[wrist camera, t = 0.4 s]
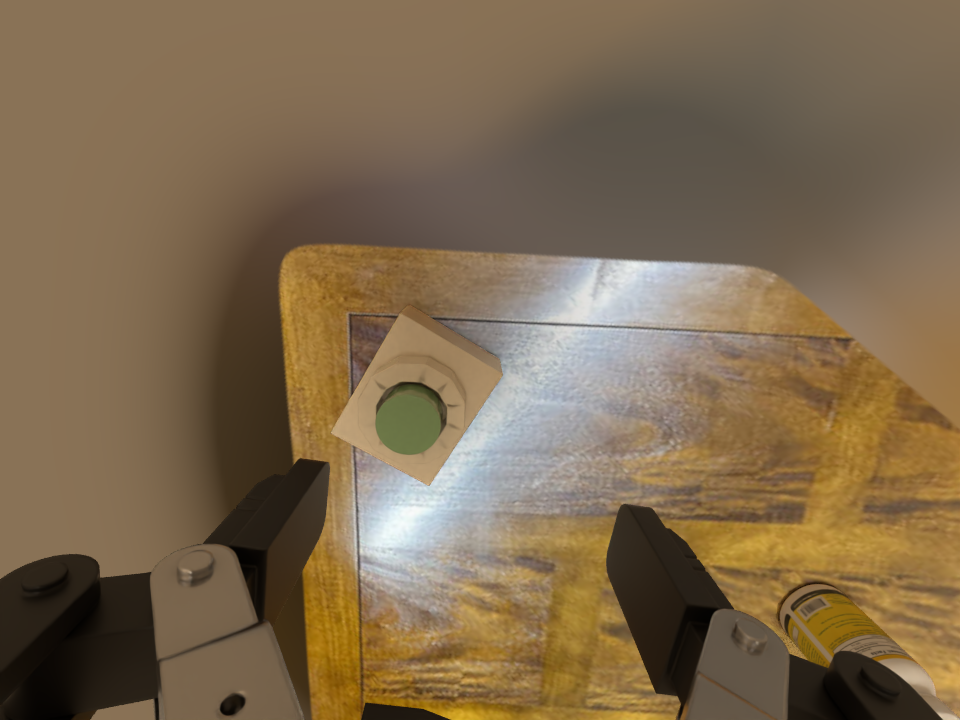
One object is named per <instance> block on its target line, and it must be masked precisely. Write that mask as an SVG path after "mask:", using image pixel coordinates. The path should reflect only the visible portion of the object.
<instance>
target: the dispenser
mask: <svg viewBox="0 0 960 720" xmlns="http://www.w3.org/2000/svg"><path fill="white" fill-rule="evenodd" d="M502 376H503V372H502V367H501V363H500V359H499V358H497V357H496V356H494V355H492V354H491V353H489V352H487V351H486V350H484V349H482V348H481V347H479V346H477V345H476V344H474V343H472V342H471V341H469V340H467V339H466V338H464V337H462V336H461V335H459V334H457V333H456V332H454V331H452V330H451V329H449V328H447V327H446V326H444V325H442V324H441V323H439V322H437V321H436V320H434V319H432V318H431V317H429V316H427V315H426V314H424V313H423V312H421V311H419V310H418V309H416V308H414V307H413V306H411V305H408V306H407V307H406V308H405V309H404V310H403V311H402V312H401V313H400V314H399V316H398V317H397V319H396V321H395V322H394V324H393V326H392V328H391V329H390V331H389V333H388V335H387V336H386V338H385V340H384V341H383V343H382V345H381V347H380V348H379V350H378V352H377V353H376V355H375V357H374V359H373V360H372V362H371V364H370V366H369V367H368V369H367V371H366V372H365V374H364V376H363V378H362V379H361V381H360V383H359V384H358V386H357V388H356V390H355V391H354V393H353V395H352V397H351V398H350V400H349V402H348V403H347V405H346V407H345V409H344V410H343V412H342V414H341V415H340V417H339V419H338V421H337V422H336V424H335V426H334V428H333V429H332V431H331V434H333V435H335V436H337V437H339V438H340V439H342V440H344V441H346V442H348V443H350V444H352V445H353V446H355V447H357V448H359V449H361V450H363V451H365V452H367V453H368V454H370V455H372V456H374V457H376V458H378V459H380V460H381V461H383V462H385V463H387V464H389V465H391V466H393V467H395V468H396V469H398V470H400V471H402V472H404V473H406V474H408V475H409V476H411V477H413V478H415V479H417V480H419V481H421V482H423V483H424V484H426V485H428V486H429V485H430V484H431V482H432V481H433V479H434V478H435V476H436V475H437V473H438V472H439V470H440V469H441V467H442V466H443V464H444V463H445V461H446V460H447V458H448V457H449V455H450V454H451V452H452V451H453V449H454V448H455V446H456V445H457V443H458V442H459V440H460V439H461V437H462V436H463V434H464V433H465V431H466V430H467V428H468V427H469V425H470V424H471V422H472V421H473V419H474V418H475V416H476V415H477V413H478V412H479V410H480V409H481V407H482V406H483V404H484V403H485V401H486V400H487V398H488V397H489V395H490V394H491V392H492V391H493V389H494V388H495V386H496V385H497V383H498V382H499V380H500V379H501V377H502ZM408 384H414V385H420V386H423V387H425V388H427V389H429V390H430V391H432V392H433V393H434V394H435V395H436V396H437V398H438V399H439V401H440V403H441V406H442V410H443V418H442V424H441V430H440V434H439V437H438V439H437V440H436V442H435V443H434V444H433V445H432V446H431V447H430V448H429V449H428V450H426V451H424V452H422V453H419V454H414V455H404V454H399V453H396V452H394V451H392V450H390V449H389V448H388V447H386V446H385V445H384V444H383V443H382V441H381V440H380V438H379V437H378V434H377V432H376V427H375V420H376V415H377V413H378V411H379V409H380V407H381V405H382V403H383V401H384V400H385V398H386V396H387V395H388V394H389V393H390V392H391V391H392V390H394V389H395V388H397V387H399V386H403V385H408Z"/></svg>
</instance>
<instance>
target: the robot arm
mask: <svg viewBox="0 0 960 720" xmlns="http://www.w3.org/2000/svg"><path fill="white" fill-rule="evenodd" d="M329 473H330V465H329V463H328V462H324V461H316V460H309V459H302V458H300V459H299V460H298V461H297V462H296V463H295V464H294V465H293V467H292V468H291V469H290V470H289V472H288V473H287V474H286V475H285V476H284V475H276V474H274V475H272V476H270V477H268V478H267V479H265V480H263V481H261V482H259V483H257V484H256V485H255V486H254V488H253V489H252V490H251V491H250V492H249V493H248V494H247V495H246V498H244V499H243V500H242V501H241V502H240V503H239V504H238V505H237V507H236V509H234V510H233V511H232V512H231V513H230V514H229V515H228V516H227V517H226V518H225V520H224V521H223V522H222V523H221V524H220V525H219V526H218V527H217V528H216V530H215V531H214V532H213V533H212V534H211V535H210V536H209V537H208V538H207V539H206V541H205V542H204V543H203V544H197V545H193V546H189V547H185V548H182V549H180V550H177V551H175V552H173V553H171V554H170V555H168V556H166V557H165V558H164V559H162V560H161V561H160V562H159V563H158V564H157V565H156V566H155V567H154V569H153V571H152V572H148V573H141V574H132V575H123V576H114V577H104V578H100V570H99V564H98V562H97V561H96V560H95V559H93V558H91V557H89V556H85V555H79V554H69V555H58V556H52V557H49V558H44V559H41V560H38V561H34V562H32V563H29V564H27V565H24V566H22V567H20V568H18V569H16V570H14V571H13V572H11V573H9V574H7V575H6V576H4V577H3V578H1V579H0V720H90V719H91V718H92V716H93V715H94V714H95V712H96V711H97V710H98V709H104V708H109V707H114V706H119V705H124V704H129V703H134V702H139V701H144V700H149V699H153V704H154V717H155V720H305V719H304V716H303V713H302V710H301V707H300V705H299V702H298V699H297V696H296V694H295V691H294V688H293V685H292V682H291V679H290V677H289V674H288V671H287V668H286V665H285V663H284V660H283V657H282V654H281V651H280V648H279V646H278V643H277V640H276V637H275V634H274V632H273V629H272V627H273V625H274V624H275V622H276V619H277V618H278V616H279V614H280V612H281V610H282V608H283V606H284V605H285V603H286V601H287V599H288V597H289V595H290V593H291V591H292V589H293V587H294V585H295V583H296V582H297V580H298V578H299V576H300V574H301V572H302V570H303V568H304V566H305V564H306V563H307V561H308V559H309V557H310V555H311V553H312V551H313V549H314V547H315V545H316V544H317V542H318V540H319V538H320V535H321V533H322V529H323V526H324V522H325V517H326V507H327V496H328V484H329ZM606 566H607V573H608V577H609V579H610V582H611V584H612V587H613V589H614V592H615V594H616V596H617V599H618V601H619V604H620V606H621V609H622V611H623V614H624V616H625V619H626V621H627V623H628V626H629V628H630V631H631V633H632V636H633V638H634V641H635V643H636V646H637V648H638V650H639V653H640V655H641V658H642V660H643V663H644V665H645V668H646V670H647V673H648V675H649V677H650V680H651V682H652V685H653V687H654V690H655V692H656V693H657V694H665V695H674V696H678V698H679V700H680V702H681V705H680V708H679V710H678V713H677V716H676V719H675V720H943V719H942V718H941V717H940V716H939V715H938V714H937V713H936V712H935V711H934V710H933V709H932V707H931V706H930V705H929V704H928V703H927V702H926V701H925V700H924V699H923V698H922V697H921V696H920V695H919V694H918V693H917V691H916V690H915V689H914V688H913V687H912V686H911V685H910V684H908V683H907V682H906V681H905V680H904V679H903V678H901V677H900V676H899V675H898V674H896V673H895V672H894V671H892V670H891V669H889V668H888V667H886V666H884V665H883V664H881V663H879V662H877V661H875V660H874V659H872V658H869V657H867V656H865V655H862V654H859V653H856V652H852V651H839V652H836V653H835V654H834V656H833V658H832V661H831V663H830V665H829V667H828V668H827V667H824V666H821V665H818V664H816V663H813V662H810V661H808V660H805V659H802V658H799V657H797V656H794V655H791V654H789V652H788V649H787V648H786V646H785V644H784V643H783V641H782V640H781V639H780V638H779V636H778V635H777V634H776V633H775V632H774V631H772V630H771V629H770V628H769V627H768V626H766V625H765V624H764V623H762V622H761V621H759V620H758V619H756V618H754V617H752V616H750V615H748V614H746V613H743V612H741V611H737V610H734V608H733V607H732V605H731V604H730V603H729V601H728V600H727V598H726V597H725V596H724V594H723V593H722V591H721V590H720V589H719V587H718V586H717V584H716V583H715V582H714V580H713V579H712V577H711V576H710V575H709V573H708V572H705V568H704V566H703V565H702V563H701V562H700V561H699V560H698V559H697V556H696V555H695V554H694V552H693V551H692V549H691V548H690V547H689V545H688V544H687V543H686V542H685V541H684V540H683V539H682V538H681V537H679V536H678V535H677V534H676V533H675V532H673V531H672V530H671V529H668V528H665V526H664V525H663V523H662V522H661V520H660V519H659V517H658V516H657V514H656V513H655V511H654V510H653V509H652V508H650V507H643V506H636V505H629V504H623V505H622V506H621V507H620V509H619V511H618V514H617V518H616V522H615V525H614V529H613V533H612V536H611V540H610V544H609V547H608V551H607V558H606ZM361 720H450V719H447V718H445V717H442V716H440V715H437V714H435V713H432V712H430V711H427V710H424V709H419V708H409V707H400V706H391V705H382V704H373V703H365V707H364V711H363V715H362V719H361Z"/></svg>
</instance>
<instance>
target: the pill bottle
mask: <svg viewBox="0 0 960 720" xmlns="http://www.w3.org/2000/svg"><path fill="white" fill-rule="evenodd" d="M780 622H781V625H782V627H783V629H784V631H785V632H786V633H787V635H788V636H789V637H790V639H791V640H792V641H793V642H794V643H795V645H796V646H797V647H798V648H799V649H800V651H801V652H802V653H803V654H804V656H805V657H806V658H807V659H808V661H810V662H813V663H816V664H818V665H821V666H824V667H827V668H828V667H829V665H830V663H831V661H832V658H833V656H834V654H835V653H836V652H839V651H852V652H856V653H859V654H862V655H865V656H867V657H869V658H872V659H874V660H875V661H877V662H879V663H881V664H883V665H884V666H886V667H888V668H889V669H891V670H892V671H894V672H895V673H896V674H898V675H899V676H900V677H901V678H903V679H904V680H905V681H906V682H907V683H908V684H910V685H911V686H912V687H913V688H914V689H915V690H916V691H917V693H918V694H919V695H920V696H921V697H922V698H923V699H924V700H925V701H926V702H927V703H928V704H929V705H930V706H931V707H932V709H933V710H934V711H935V712H936V713H937V714H938V715H939V716H940V717H941V718H942V719H943V720H960V718H959V717H958V716H957V715H956V714H955V713H954V712H953V711H952V710H951V709H950V708H949V707H948V706H947V705H946V704H945V703H944V702H943V701H941V700H940V699H939V698H937V697H936V691H935V687H934V684H933V681H932V680H931V678H930V676H929V675H928V674H927V672H926V671H925V670H924V669H923V668H922V667H921V666H920V665H919V664H918V663H917V662H916V661H915V660H914V659H913V658H912V657H911V656H909V655H908V654H907V653H906V652H905V651H904V650H903V649H902V648H901V647H900V646H899V645H898V644H897V643H896V642H895V641H893V640H892V639H891V638H890V637H889V636H888V635H887V634H886V633H885V632H884V631H883V630H882V629H881V628H880V627H879V626H878V625H877V624H875V623H874V622H873V621H872V620H871V619H870V618H869V617H868V616H867V615H866V614H865V613H864V612H863V611H862V610H860V609H859V608H858V607H857V606H856V605H855V604H854V603H853V602H852V601H851V600H850V599H849V598H848V597H847V596H845V595H844V594H843V593H842V592H841V591H839V590H838V589H836V588H834V587H832V586H828V585H823V584H813V585H807V586H805V587H802V588H800V589H798V590H797V591H795V592H794V593H792V594H791V595H790V596H789V597H788V598H787V599H786V600H785V602H784V604H783V605H782V608H781V611H780Z"/></svg>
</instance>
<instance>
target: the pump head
mask: <svg viewBox="0 0 960 720" xmlns="http://www.w3.org/2000/svg"><path fill="white" fill-rule="evenodd" d="M442 418H443V410H442V406H441V403H440V401H439V399H438V398H437V396H436V395H435V394H434V393H433V392H432V391H430V390H429V389H427V388H425V387H423V386H420V385H414V384H408V385H403V386H399V387H397V388H395V389H394V390H392V391H391V392H390V393H389V394H388V395H387V396H386V398H385V400H384V401H383V403H382V405H381V407H380V409H379V411H378V413H377V415H376V420H375V427H376V432H377V434H378V437H379V438H380V440H381V441H382V443H383V444H384V445H385V446H386V447H388V448H389V449H390V450H392V451H394V452H396V453H399V454H404V455H414V454H419V453H422V452H424V451H426V450H428V449H429V448H430V447H431V446H432V445H433V444H434V443H435V442H436V440H437V439H438V437H439V434H440V430H441V424H442Z"/></svg>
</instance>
